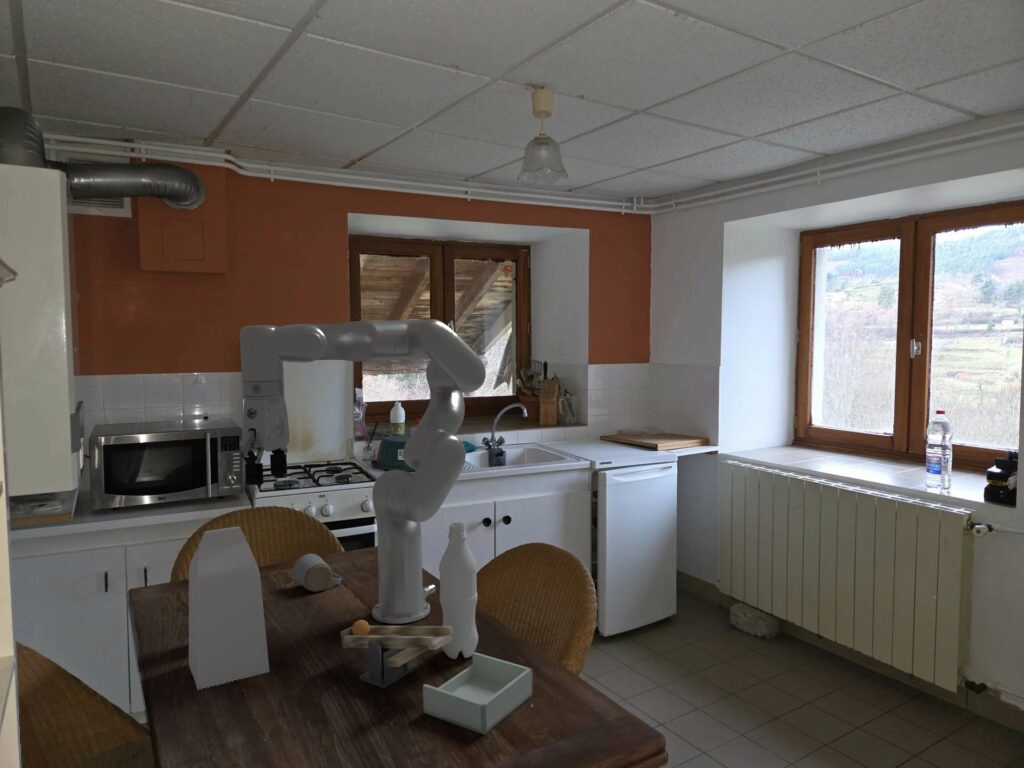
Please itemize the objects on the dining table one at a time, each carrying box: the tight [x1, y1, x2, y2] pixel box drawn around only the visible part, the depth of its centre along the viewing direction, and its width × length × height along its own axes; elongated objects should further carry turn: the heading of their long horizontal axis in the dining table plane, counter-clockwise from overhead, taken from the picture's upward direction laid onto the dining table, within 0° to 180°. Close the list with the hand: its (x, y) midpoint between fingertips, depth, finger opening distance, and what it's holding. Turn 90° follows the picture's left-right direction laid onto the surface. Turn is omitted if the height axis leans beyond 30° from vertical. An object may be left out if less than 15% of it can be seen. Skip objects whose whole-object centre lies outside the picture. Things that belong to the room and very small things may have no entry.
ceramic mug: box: [293, 553, 343, 593], centre depth 170 cm, size 11×8×8 cm
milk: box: [188, 525, 270, 691], centre depth 128 cm, size 12×12×26 cm
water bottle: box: [438, 522, 479, 660], centre depth 132 cm, size 7×7×25 cm
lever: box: [340, 625, 453, 667], centre depth 121 cm, size 22×12×3 cm, turn 57°
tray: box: [422, 651, 534, 736], centre depth 114 cm, size 14×12×4 cm
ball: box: [351, 619, 370, 636], centre depth 129 cm, size 3×3×3 cm
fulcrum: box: [358, 639, 419, 689], centre depth 125 cm, size 6×9×7 cm, turn 147°
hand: (267, 479), depth 133 cm, fingers open, 9 cm apart
